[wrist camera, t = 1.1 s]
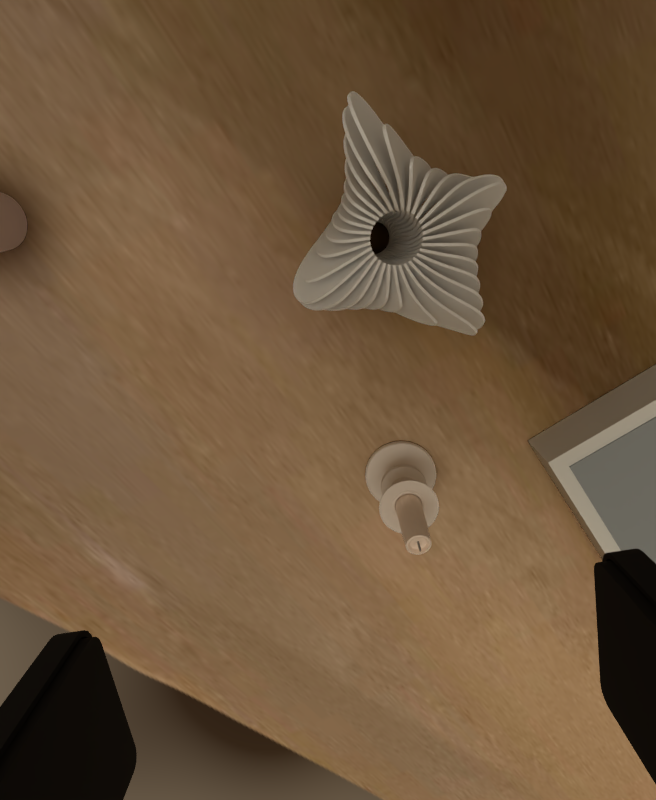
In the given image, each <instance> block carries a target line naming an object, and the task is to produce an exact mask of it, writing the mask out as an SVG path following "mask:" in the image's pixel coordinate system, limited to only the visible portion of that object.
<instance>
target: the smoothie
mask: <svg viewBox="0 0 656 800" xmlns="http://www.w3.org/2000/svg"><path fill="white" fill-rule="evenodd" d="M26 233H27V219H26V216H25V213H24V211H23V209H22V207H21V206H20V205H19V203H18V202H17V201H16V200H14V199H13V198H12V197H10V196H9V195H7V194H4V193H2V192H0V252H4V251H8V250H12V249H14V248H16V247H18V246H19V245H20V244H21V243H22V242H23V240H24V239H25V236H26Z"/></svg>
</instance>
